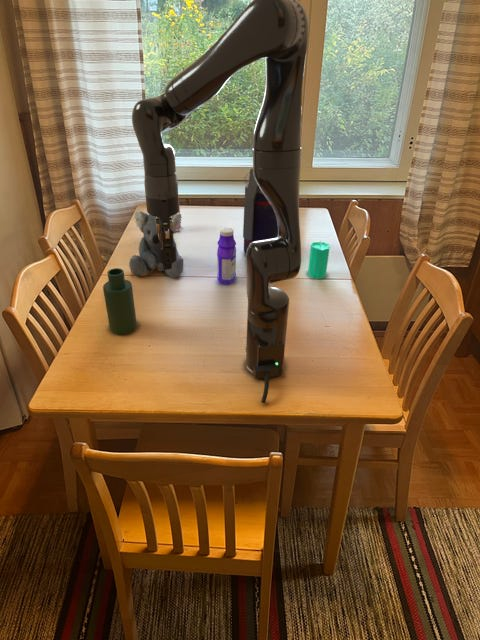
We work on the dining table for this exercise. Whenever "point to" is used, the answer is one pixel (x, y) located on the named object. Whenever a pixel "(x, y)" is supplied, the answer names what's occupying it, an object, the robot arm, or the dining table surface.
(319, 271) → the candle
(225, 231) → the bottle
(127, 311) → the green bottle
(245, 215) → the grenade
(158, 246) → the cylinder
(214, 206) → the dining table surface
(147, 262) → the koala plush
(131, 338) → the dining table surface
